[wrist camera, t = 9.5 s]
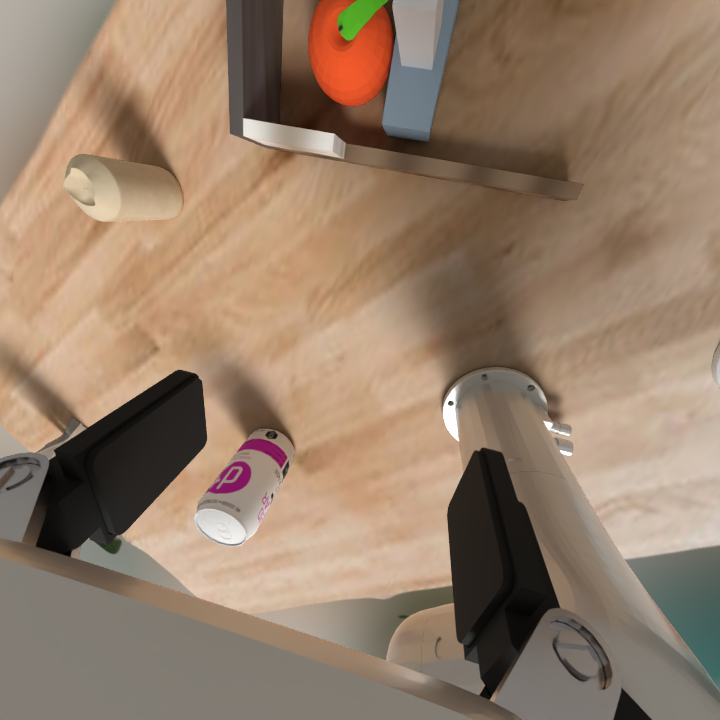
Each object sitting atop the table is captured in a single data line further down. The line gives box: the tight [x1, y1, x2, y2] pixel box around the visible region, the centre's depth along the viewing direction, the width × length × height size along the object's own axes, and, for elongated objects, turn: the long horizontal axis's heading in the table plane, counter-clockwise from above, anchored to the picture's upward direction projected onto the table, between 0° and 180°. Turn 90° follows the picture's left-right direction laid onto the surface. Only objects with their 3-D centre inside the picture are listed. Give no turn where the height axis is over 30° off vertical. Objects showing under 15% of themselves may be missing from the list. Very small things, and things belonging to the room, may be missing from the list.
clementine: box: [308, 0, 394, 106], centre depth 24 cm, size 8×7×7 cm
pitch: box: [226, 0, 583, 201], centre depth 24 cm, size 30×15×7 cm, turn 81°
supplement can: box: [194, 429, 295, 547], centre depth 44 cm, size 8×8×15 cm
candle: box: [63, 154, 183, 222], centre depth 32 cm, size 6×6×10 cm
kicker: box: [382, 0, 460, 143], centre depth 21 cm, size 4×10×12 cm, turn 171°
